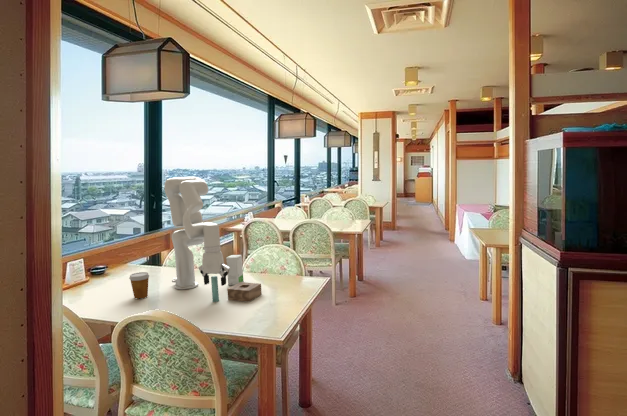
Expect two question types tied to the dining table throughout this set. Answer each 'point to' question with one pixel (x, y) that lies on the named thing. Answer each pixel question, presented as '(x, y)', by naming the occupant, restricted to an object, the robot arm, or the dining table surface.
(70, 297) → the dining table surface
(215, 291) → the peg
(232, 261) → the skincare box
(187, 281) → the robot arm
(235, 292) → the socket block
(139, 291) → the disposable coffee cup
